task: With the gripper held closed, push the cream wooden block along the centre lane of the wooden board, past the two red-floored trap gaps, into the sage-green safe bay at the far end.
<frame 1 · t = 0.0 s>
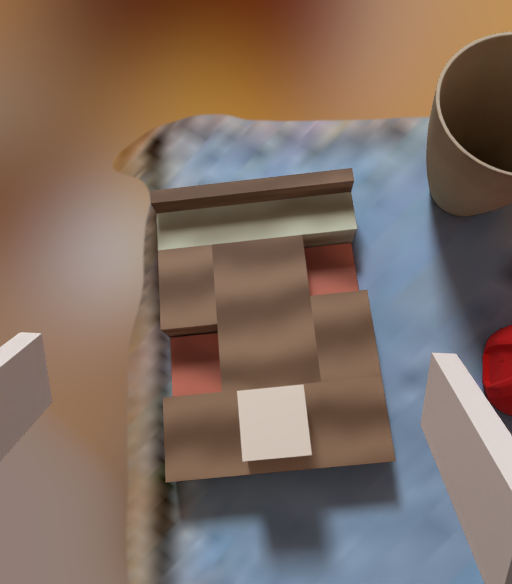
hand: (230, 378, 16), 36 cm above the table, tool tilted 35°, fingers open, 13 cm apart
plant pot: (458, 190, 56), on the table
block: (274, 423, 46), point 4 cm above the table, touching wooden board
wooden board: (266, 327, 53), on the table
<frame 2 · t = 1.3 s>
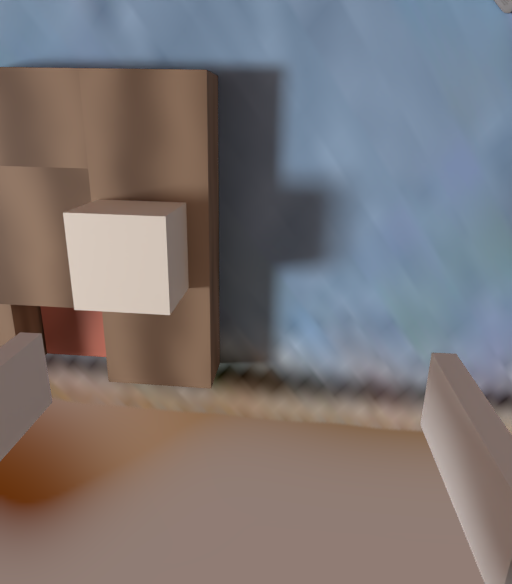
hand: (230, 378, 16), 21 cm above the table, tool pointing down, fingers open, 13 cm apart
block: (144, 244, 32), point 4 cm above the table, touching wooden board
wooden board: (30, 226, 37), on the table
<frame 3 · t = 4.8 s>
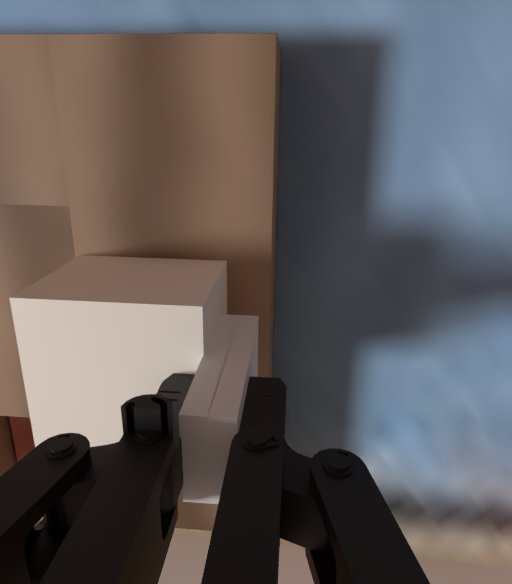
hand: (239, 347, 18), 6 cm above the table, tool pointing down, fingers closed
block: (156, 326, 20), point 4 cm above the table, touching gripper
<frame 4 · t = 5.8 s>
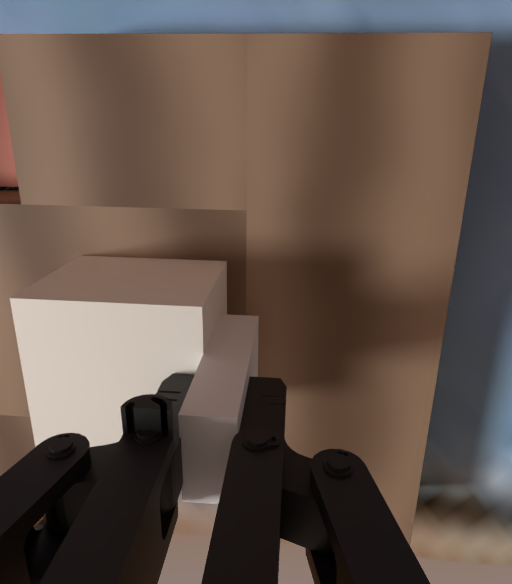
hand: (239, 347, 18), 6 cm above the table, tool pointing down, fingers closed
block: (156, 326, 20), point 4 cm above the table, touching gripper
wooden board: (118, 291, 24), on the table
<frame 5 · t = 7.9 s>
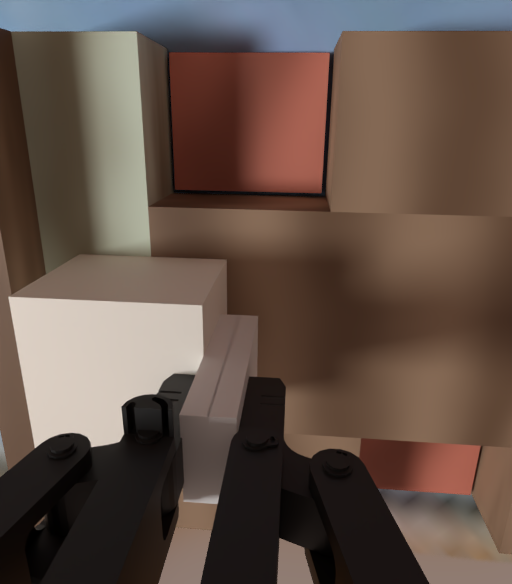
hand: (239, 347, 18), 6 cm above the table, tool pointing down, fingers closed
block: (156, 325, 20), point 4 cm above the table, touching gripper, wooden board
wooden board: (360, 300, 23), on the table
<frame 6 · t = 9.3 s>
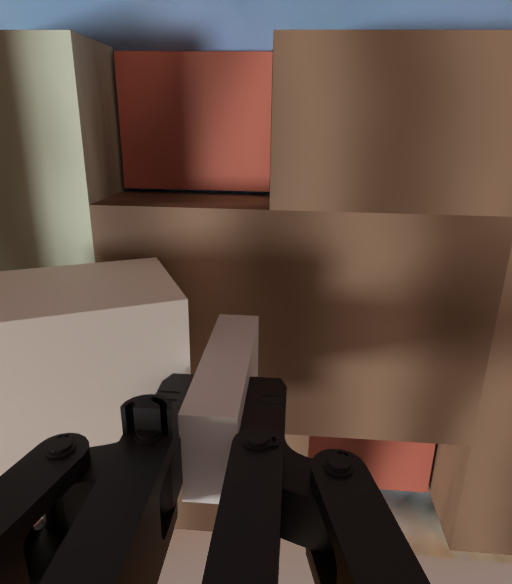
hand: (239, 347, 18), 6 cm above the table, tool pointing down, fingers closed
block: (84, 337, 19), point 5 cm above the table, tilted 27°, touching wooden board
wooden board: (312, 299, 23), on the table
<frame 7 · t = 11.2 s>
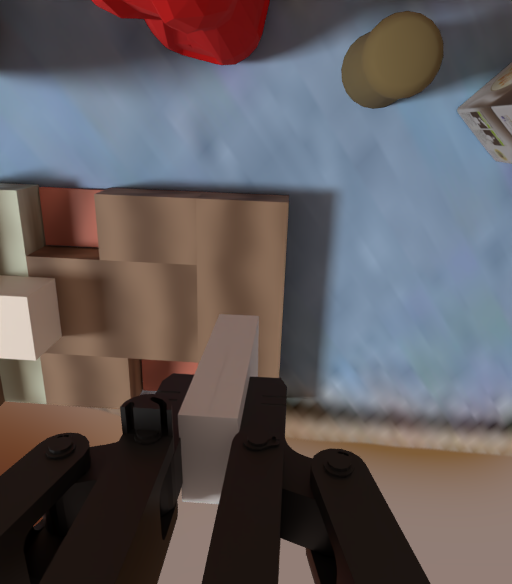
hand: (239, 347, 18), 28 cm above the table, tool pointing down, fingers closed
block: (28, 306, 45), point 4 cm above the table, touching wooden board
cork: (376, 70, 40), on the table
wooden board: (137, 296, 49), on the table
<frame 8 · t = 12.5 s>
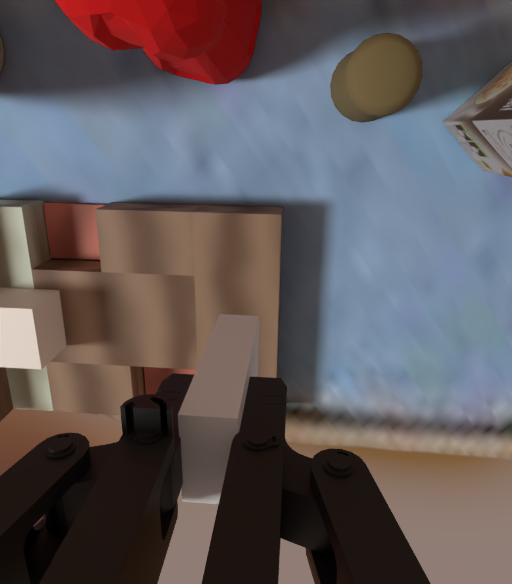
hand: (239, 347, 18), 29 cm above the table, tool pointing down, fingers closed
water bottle: (209, 13, 41), on the table
block: (34, 316, 47), point 4 cm above the table, touching wooden board
cork: (364, 86, 41), on the table
coffee box: (506, 110, 41), on the table
wooden board: (139, 306, 50), on the table
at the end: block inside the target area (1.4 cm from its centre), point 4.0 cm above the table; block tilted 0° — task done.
